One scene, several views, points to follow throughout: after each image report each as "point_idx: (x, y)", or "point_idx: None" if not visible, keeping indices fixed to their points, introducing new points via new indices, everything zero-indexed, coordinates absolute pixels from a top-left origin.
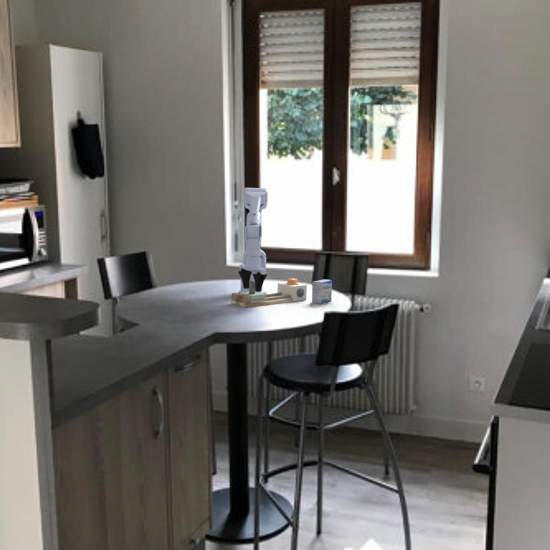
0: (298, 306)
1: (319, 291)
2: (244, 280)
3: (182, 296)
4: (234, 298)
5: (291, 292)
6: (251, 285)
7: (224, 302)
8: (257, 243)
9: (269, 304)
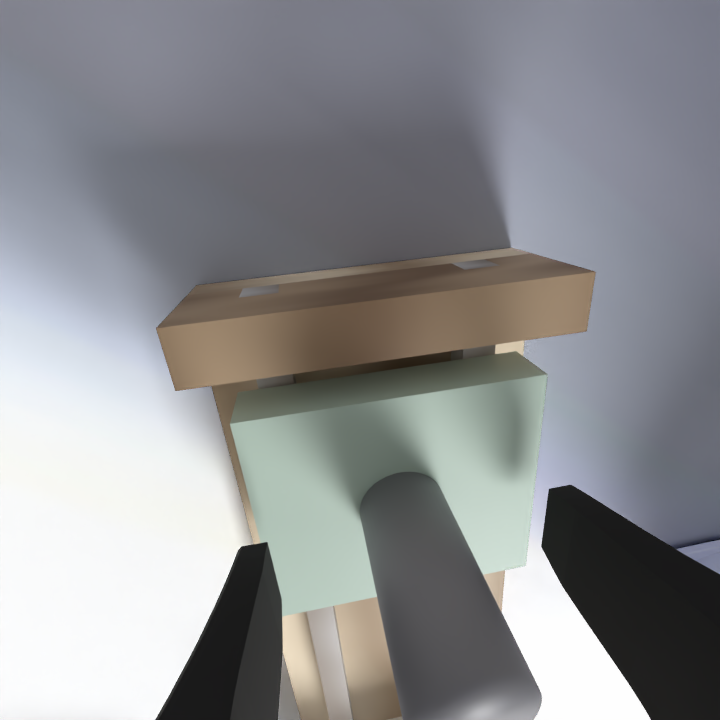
0: (100, 696)
1: None
2: (669, 614)
3: None
4: (496, 266)
5: None
6: (404, 599)
7: (600, 188)
8: None
9: None
